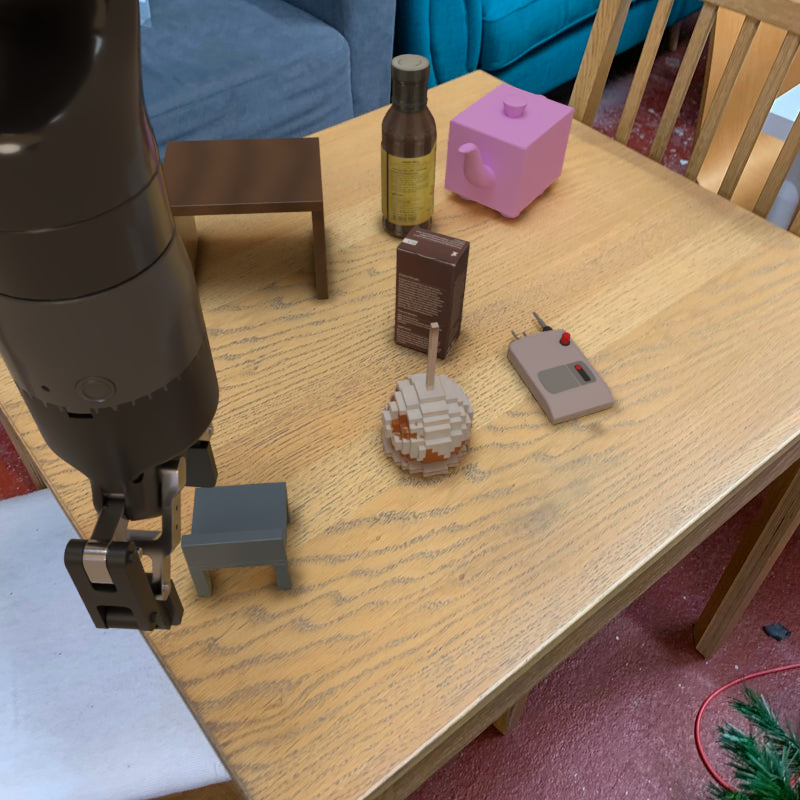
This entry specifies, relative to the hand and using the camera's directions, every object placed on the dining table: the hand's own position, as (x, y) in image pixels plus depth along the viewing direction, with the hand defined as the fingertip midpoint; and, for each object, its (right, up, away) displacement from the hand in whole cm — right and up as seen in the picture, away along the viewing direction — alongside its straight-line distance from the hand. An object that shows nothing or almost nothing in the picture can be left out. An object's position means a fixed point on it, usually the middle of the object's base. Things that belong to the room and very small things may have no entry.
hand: (182, 546), depth 42 cm
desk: (-4, +23, +45) cm, 51 cm away
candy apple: (+14, +4, +29) cm, 32 cm away
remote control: (+27, +11, +35) cm, 46 cm away
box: (+15, +14, +38) cm, 43 cm away
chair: (-1, -4, +20) cm, 21 cm away
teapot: (+24, +34, +56) cm, 69 cm away
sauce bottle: (+13, +29, +51) cm, 60 cm away
